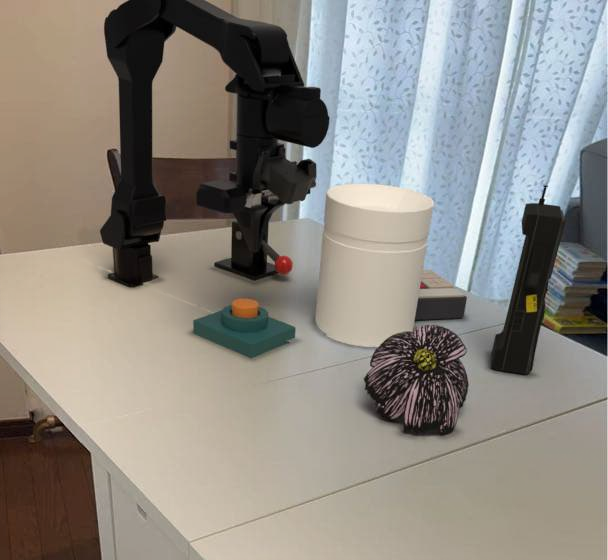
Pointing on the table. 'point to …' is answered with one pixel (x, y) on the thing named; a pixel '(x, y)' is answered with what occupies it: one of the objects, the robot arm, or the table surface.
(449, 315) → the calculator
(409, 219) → the canister
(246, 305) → the button
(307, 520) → the table surface
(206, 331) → the button block
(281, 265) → the switch lever
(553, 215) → the portable radio
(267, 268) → the switch bracket
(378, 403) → the decorative flower
